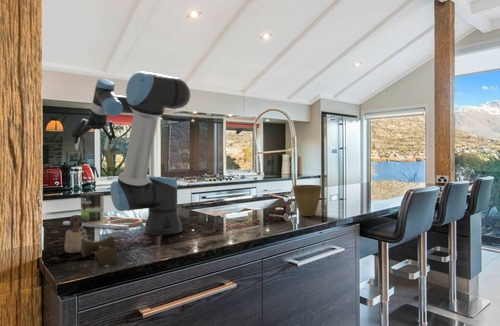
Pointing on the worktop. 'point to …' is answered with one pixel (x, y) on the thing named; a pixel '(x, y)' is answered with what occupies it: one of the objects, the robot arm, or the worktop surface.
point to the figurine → (74, 235)
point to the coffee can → (92, 206)
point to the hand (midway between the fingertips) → (91, 148)
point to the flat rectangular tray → (106, 218)
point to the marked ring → (137, 221)
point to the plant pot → (307, 198)
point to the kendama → (100, 249)
